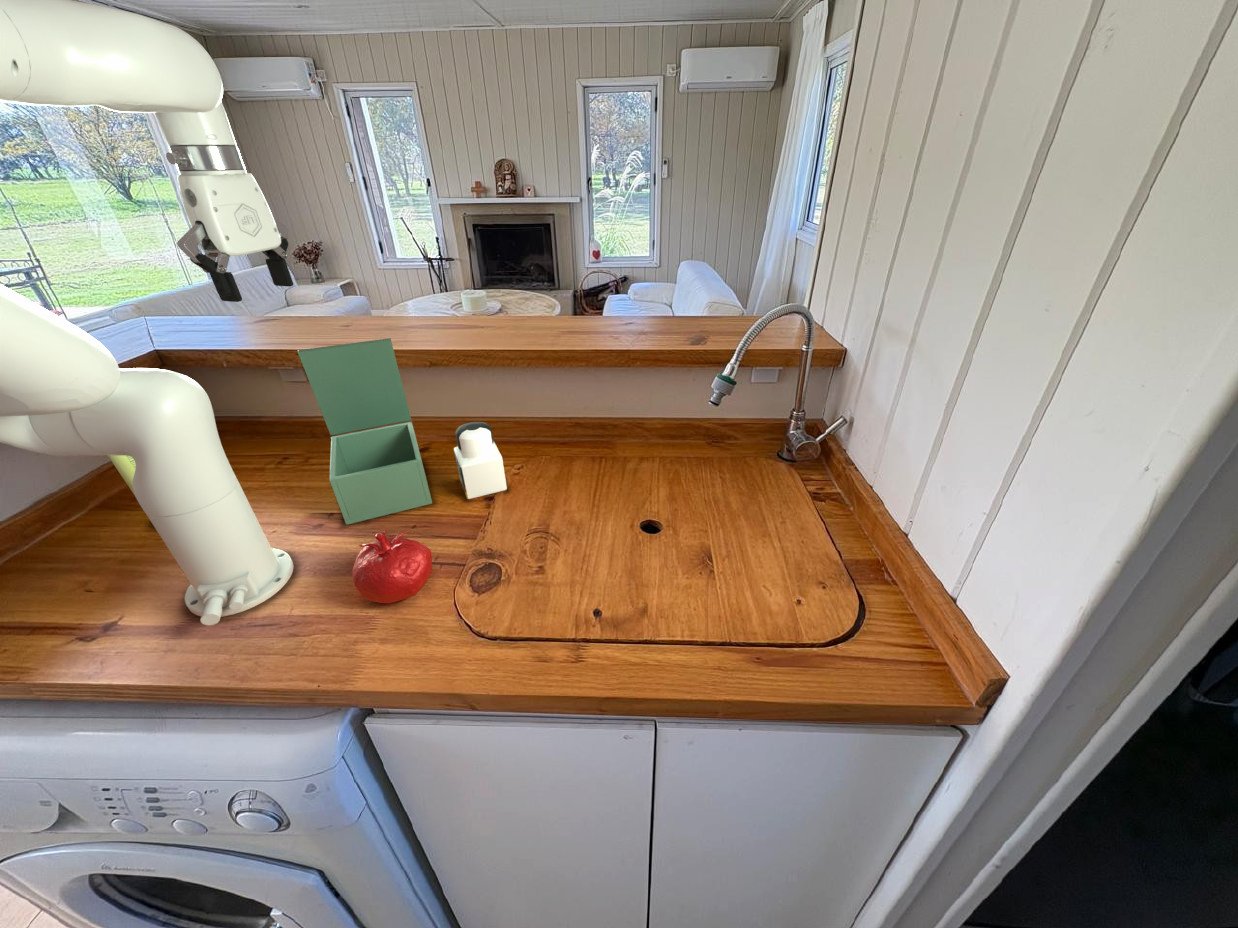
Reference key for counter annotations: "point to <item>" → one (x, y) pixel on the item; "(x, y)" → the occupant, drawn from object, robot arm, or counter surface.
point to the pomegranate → (391, 568)
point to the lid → (356, 385)
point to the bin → (377, 472)
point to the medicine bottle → (479, 460)
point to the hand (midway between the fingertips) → (259, 293)
